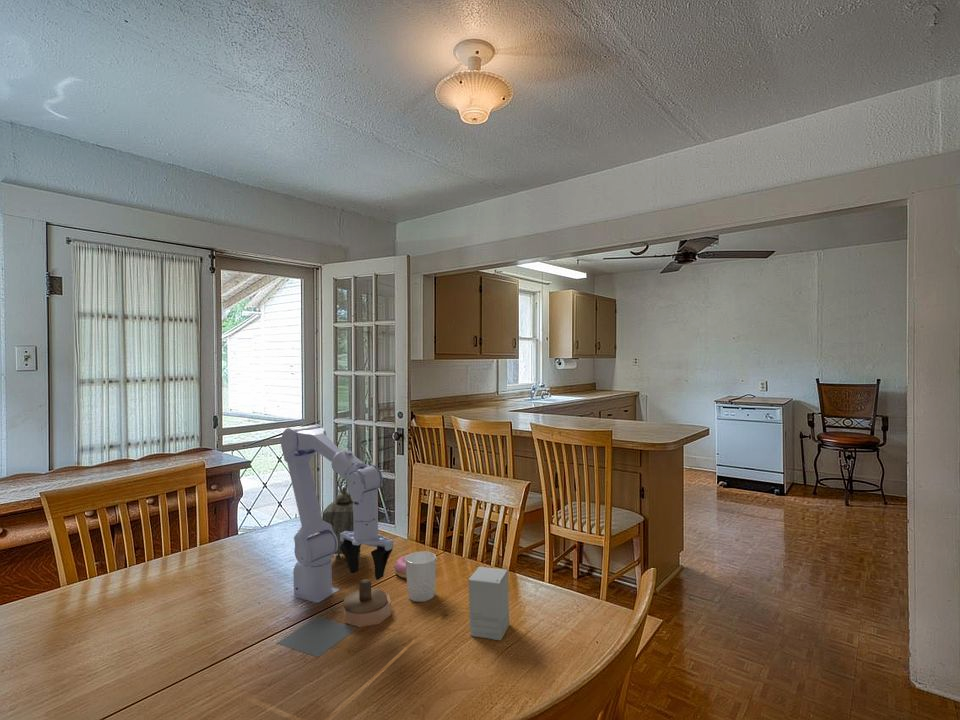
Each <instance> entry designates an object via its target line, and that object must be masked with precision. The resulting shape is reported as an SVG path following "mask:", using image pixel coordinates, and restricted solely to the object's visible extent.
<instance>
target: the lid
mask: <svg viewBox="0 0 960 720" xmlns="http://www.w3.org/2000/svg"><path fill="white" fill-rule="evenodd" d="M386 603H387V595H386V592H384V591H383V590H381V589H377V588H372V580H370V579H365V578H364V579H362V580H360V581H359V582H358V590H356V591H353V592H352V593H350V594H348V595H346V596H345V597H344V599H343V610H344V609H345V610H346V611H348V612H350V613H354V614H365V613H371V612H374V611H377V610H379V609H381V608H382V607H384V606H385V604H386Z"/></svg>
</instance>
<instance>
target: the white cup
mask: <svg viewBox="0 0 960 720" xmlns="http://www.w3.org/2000/svg"><path fill="white" fill-rule="evenodd" d="M406 555H407V554H406ZM436 555H437V554H435V553H433V552H431V551H425V550H423V551H414V552H411V553H409V555H407V556H406V558H405V561H406V576H407V578H406V583H407V585H406V586H407V595H408V598H409V600H411V601H413V602H418V603H419V602H420V603H422V602H427V601H430V600H432V599H433V598H434V597H435V595H436V594H435V593H436V576H437V556H436Z"/></svg>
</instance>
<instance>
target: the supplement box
mask: <svg viewBox="0 0 960 720" xmlns="http://www.w3.org/2000/svg"><path fill="white" fill-rule="evenodd" d="M509 597H510V595H509V572H508V569H504V568H503V569H502V568H495V567H494V568H493V567H486V566H478V567H477V568H476V569H475V571H473V574H472V575H471V576H470V577H469V579H468V601H469V603H468V605H469V606H468V607H469V611H468V612H469V632H470V633H469V634H470V636H471V637H477V638H484V639H490V640H495V641H500V642H501V641H502V639H503V637H504V635H505V634H506V631H507V630H508V628H509V625H510V604H509V603H510V599H509Z"/></svg>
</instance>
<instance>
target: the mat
mask: <svg viewBox="0 0 960 720" xmlns="http://www.w3.org/2000/svg"><path fill="white" fill-rule="evenodd" d="M357 629H358V628H357V627H356V626H355V627H354V626H353V625H349V624H346V623H341V622H338V621H334V620H332V619H328V618H323V617H321V616H317V617H315V618H313V619H311V620H310V621H309V622H307V623H305V624H303V625H302V626H301V627H299V628H298V629H296V630H295V631H293V632H291V633H290V634H288V635H286V636H285V637H284V638H282V639H280V640H278V641H277V642H276V644H277V645H281V646H284V647H285V648H289V649H292V650H295V651H298V652H302V653H303V654H307V655H310V656H312V657H315V658H319V657H321V656H322V655H323V654H325V653H326V652H328V651H329V650H331V648H333V647H335V646H336V645H337V644H338V643H340V642H341V641H343V639H345V638H346V637H348V636H349V635H350V634H352V633H354V631H356V630H357Z"/></svg>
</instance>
